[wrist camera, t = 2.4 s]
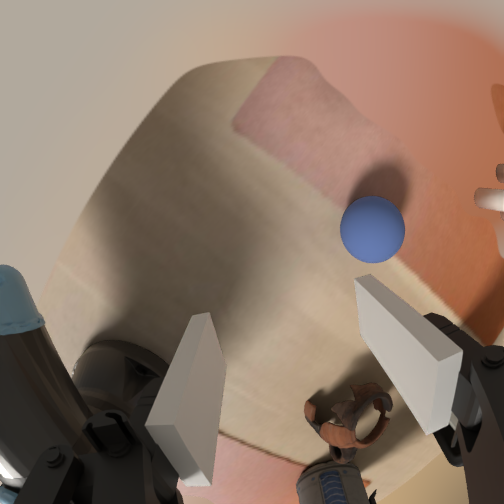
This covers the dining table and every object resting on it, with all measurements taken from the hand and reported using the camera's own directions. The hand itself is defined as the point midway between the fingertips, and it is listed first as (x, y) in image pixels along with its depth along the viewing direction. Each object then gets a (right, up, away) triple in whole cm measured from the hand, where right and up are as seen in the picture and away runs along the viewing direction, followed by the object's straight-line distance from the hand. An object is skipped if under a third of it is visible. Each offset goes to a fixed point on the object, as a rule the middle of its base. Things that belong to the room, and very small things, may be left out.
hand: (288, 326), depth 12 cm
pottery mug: (+10, -17, +21) cm, 29 cm away
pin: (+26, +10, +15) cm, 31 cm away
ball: (+9, +5, +13) cm, 17 cm away
